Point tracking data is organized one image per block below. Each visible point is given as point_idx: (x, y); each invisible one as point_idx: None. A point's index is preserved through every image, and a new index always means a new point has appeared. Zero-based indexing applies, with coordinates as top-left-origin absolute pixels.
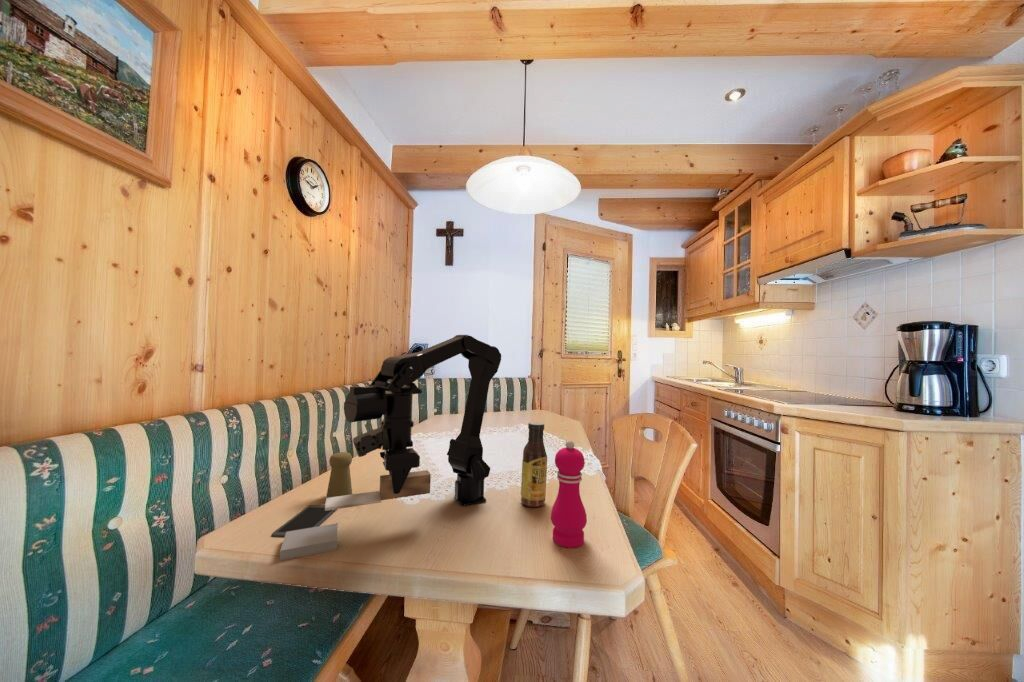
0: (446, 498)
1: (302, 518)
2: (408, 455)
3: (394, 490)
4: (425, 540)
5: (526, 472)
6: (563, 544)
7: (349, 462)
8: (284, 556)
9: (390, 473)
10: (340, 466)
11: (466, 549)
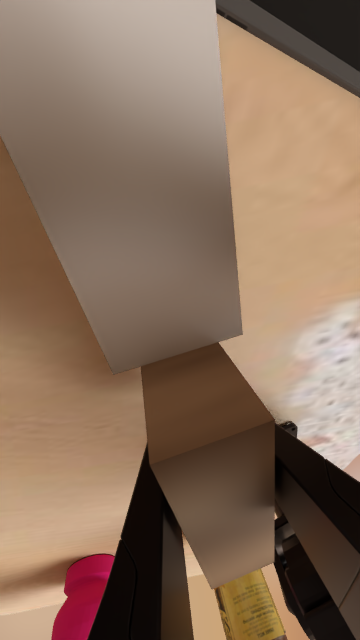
0: (291, 409)
1: None
2: None
3: (145, 449)
4: (99, 405)
5: (236, 612)
6: (68, 572)
7: None
8: None
9: (285, 470)
10: None
11: (59, 474)
